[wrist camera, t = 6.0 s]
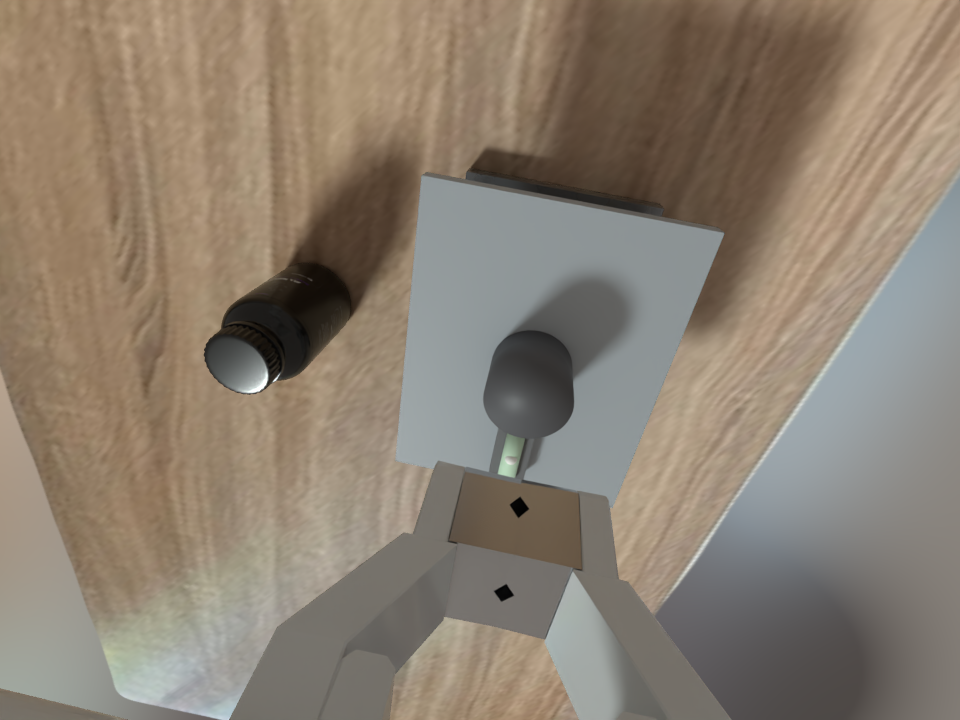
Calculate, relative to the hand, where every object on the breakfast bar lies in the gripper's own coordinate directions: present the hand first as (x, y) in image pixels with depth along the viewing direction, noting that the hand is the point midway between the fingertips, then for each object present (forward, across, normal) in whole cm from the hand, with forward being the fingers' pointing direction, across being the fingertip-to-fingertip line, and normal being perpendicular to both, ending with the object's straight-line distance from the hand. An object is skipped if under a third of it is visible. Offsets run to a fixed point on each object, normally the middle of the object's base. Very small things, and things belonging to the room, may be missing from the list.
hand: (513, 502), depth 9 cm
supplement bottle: (+31, +18, +13) cm, 38 cm away
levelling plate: (+21, -1, +9) cm, 23 cm away
